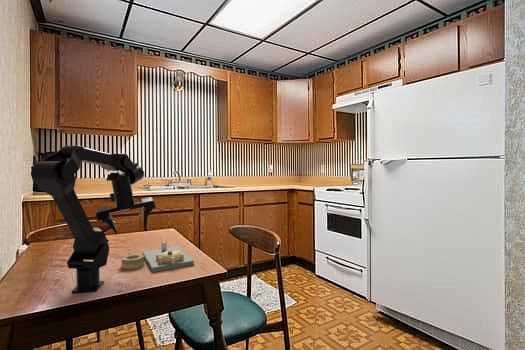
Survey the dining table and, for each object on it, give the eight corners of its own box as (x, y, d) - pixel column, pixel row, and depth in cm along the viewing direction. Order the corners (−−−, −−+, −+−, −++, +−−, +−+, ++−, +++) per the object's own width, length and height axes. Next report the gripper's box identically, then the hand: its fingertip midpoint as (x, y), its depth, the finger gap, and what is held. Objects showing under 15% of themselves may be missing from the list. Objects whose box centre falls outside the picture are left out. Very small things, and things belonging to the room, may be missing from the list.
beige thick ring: (145, 266, 102) (144, 258, 102) (123, 270, 99) (122, 261, 99) (142, 261, 108) (142, 253, 108) (121, 264, 105) (121, 256, 105)
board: (193, 264, 104) (193, 252, 103) (152, 272, 96) (152, 258, 96) (178, 249, 123) (178, 239, 122) (142, 255, 116) (142, 244, 115)
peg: (166, 253, 113) (166, 243, 112) (161, 253, 112) (160, 243, 112) (167, 251, 115) (167, 241, 114) (161, 252, 114) (161, 242, 114)
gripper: (147, 178, 111) (154, 215, 116) (92, 188, 103) (101, 228, 107) (152, 186, 102) (159, 226, 106) (91, 197, 93) (101, 241, 98)
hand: (130, 230), depth 105 cm, fingers open, 9 cm apart
